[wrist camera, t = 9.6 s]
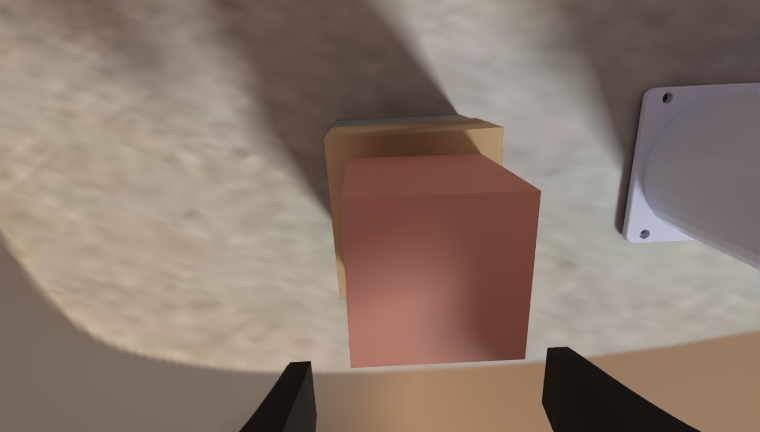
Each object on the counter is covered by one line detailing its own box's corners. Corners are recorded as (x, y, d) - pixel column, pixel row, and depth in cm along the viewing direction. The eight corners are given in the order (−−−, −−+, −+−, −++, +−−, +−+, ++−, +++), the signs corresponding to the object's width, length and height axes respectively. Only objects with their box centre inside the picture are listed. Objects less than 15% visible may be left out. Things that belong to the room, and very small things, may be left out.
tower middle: (476, 118, 17) (503, 127, 14) (474, 251, 19) (497, 287, 16) (331, 127, 17) (323, 139, 14) (344, 260, 19) (340, 299, 16)
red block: (480, 153, 14) (540, 191, 9) (475, 272, 15) (524, 358, 11) (348, 158, 14) (340, 198, 9) (354, 278, 15) (350, 367, 11)
